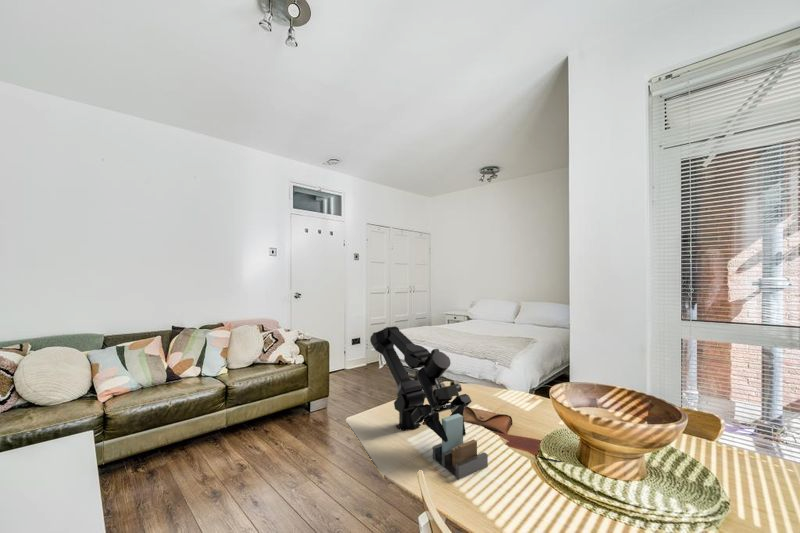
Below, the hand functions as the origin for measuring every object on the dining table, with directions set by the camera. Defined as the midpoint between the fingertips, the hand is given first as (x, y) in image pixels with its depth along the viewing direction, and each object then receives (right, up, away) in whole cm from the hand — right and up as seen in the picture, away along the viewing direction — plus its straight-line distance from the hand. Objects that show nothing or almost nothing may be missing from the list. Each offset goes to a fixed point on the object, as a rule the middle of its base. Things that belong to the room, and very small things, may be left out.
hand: (455, 438), depth 88 cm
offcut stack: (+2, -6, -3) cm, 7 cm away
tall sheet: (-1, -6, +1) cm, 6 cm away
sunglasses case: (+14, -8, +22) cm, 27 cm away
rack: (+1, -7, -1) cm, 7 cm away
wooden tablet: (+20, -7, +9) cm, 23 cm away
